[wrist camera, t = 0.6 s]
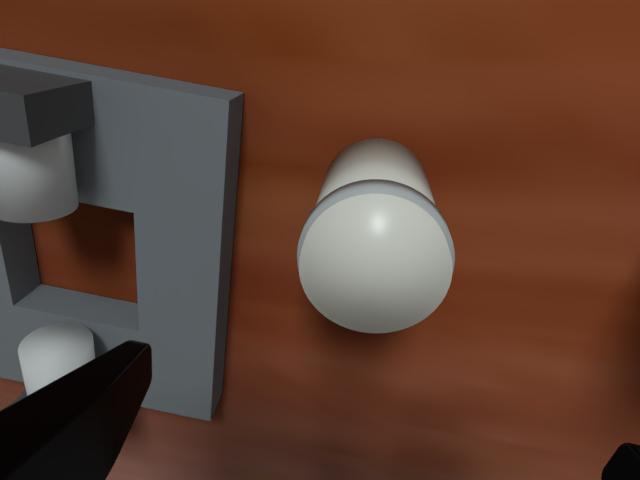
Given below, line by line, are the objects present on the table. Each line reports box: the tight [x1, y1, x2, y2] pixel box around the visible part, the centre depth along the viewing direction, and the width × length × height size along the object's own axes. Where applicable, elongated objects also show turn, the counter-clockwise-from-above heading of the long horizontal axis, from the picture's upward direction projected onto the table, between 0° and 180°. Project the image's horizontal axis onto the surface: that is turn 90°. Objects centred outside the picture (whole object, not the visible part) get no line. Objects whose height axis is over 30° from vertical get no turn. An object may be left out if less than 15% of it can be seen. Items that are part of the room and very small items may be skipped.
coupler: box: [297, 138, 455, 333], centre depth 16 cm, size 5×5×7 cm
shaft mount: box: [0, 48, 244, 421], centre depth 19 cm, size 17×14×6 cm
